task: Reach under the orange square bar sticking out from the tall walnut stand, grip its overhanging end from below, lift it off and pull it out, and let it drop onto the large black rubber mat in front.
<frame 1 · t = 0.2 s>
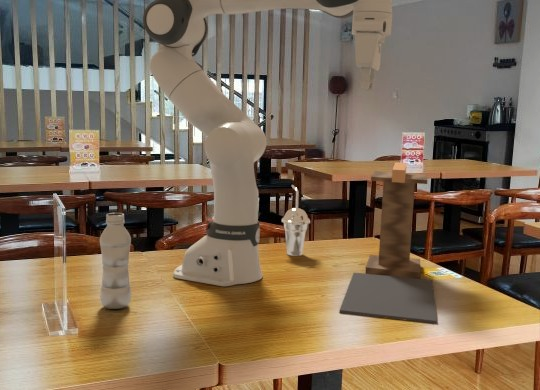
hand: (366, 89, 135), 48 cm above the table, fingers open, 8 cm apart
orange square bar: (399, 177, 151), point 26 cm above the table, touching walnut stand
cup with straw: (294, 254, 174), on the table
rubber mat: (389, 296, 138), on the table
walnut stand: (393, 270, 160), on the table
plastic bottle: (116, 308, 125), on the table
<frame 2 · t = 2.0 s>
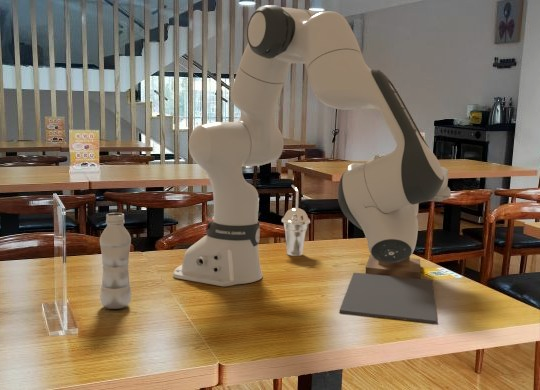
hand: (398, 158, 125), 33 cm above the table, fingers open, 8 cm apart
nothing on the table moved.
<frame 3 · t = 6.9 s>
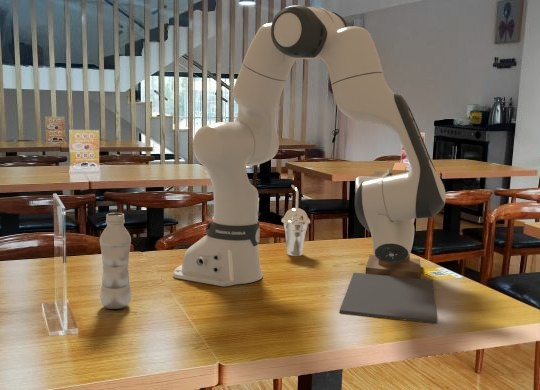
hand: (399, 172, 146), 28 cm above the table, fingers closed on orange square bar, 3 cm apart
orange square bar: (399, 177, 151), point 26 cm above the table, touching gripper, walnut stand
everything else where it was.
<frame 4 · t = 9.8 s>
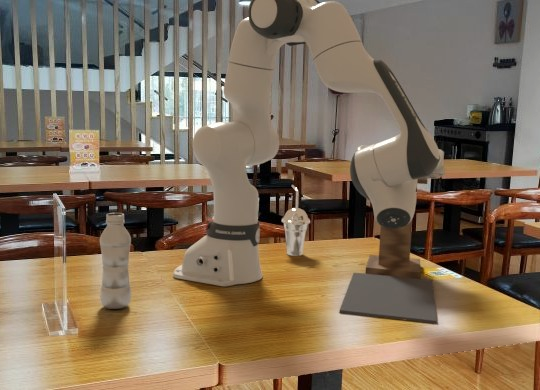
hand: (401, 142, 145), 35 cm above the table, fingers closed on orange square bar, 3 cm apart
orange square bar: (401, 148, 149), point 33 cm above the table, touching gripper
everything else where it was.
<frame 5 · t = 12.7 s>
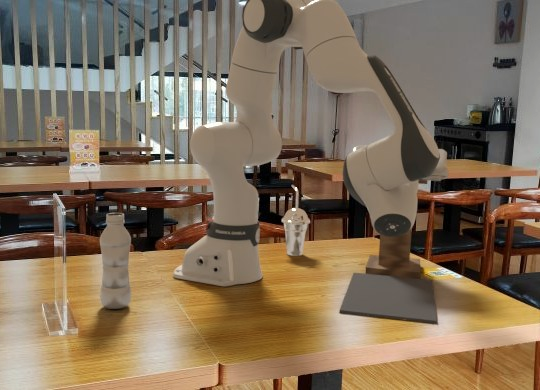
hand: (400, 141, 134), 36 cm above the table, fingers closed on orange square bar, 3 cm apart
orange square bar: (400, 149, 139), point 34 cm above the table, touching gripper
everything else where it was.
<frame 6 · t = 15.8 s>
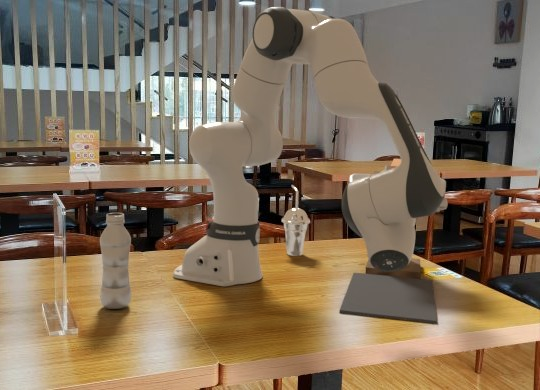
hand: (398, 168, 130), 30 cm above the table, fingers closed on orange square bar, 3 cm apart
orange square bar: (398, 175, 135), point 28 cm above the table, touching gripper
everything else where it was.
when the fingers open (20 cm above the table, at t = 18.3 s): orange square bar drops 17 cm, resting on rubber mat.
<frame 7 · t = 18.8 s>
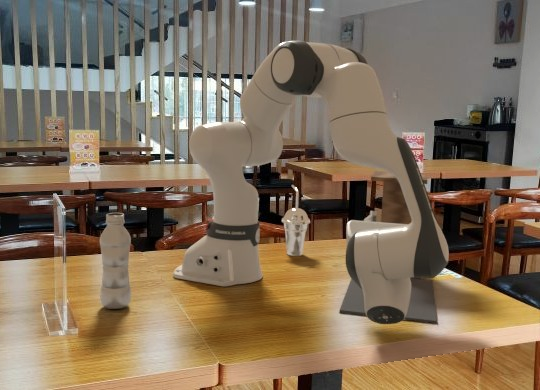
hand: (395, 214, 132), 20 cm above the table, fingers open, 8 cm apart
orange square bar: (390, 292, 139), point 1 cm above the table, touching rubber mat
everything else where it was.
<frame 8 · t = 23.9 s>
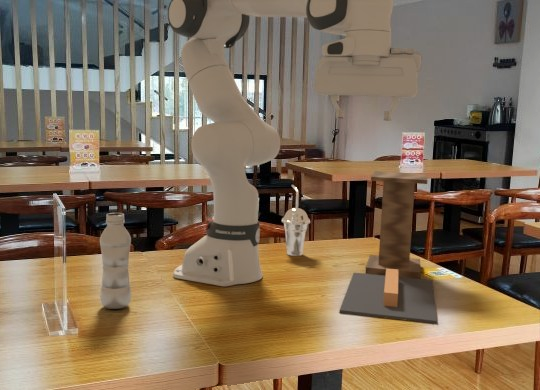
hand: (363, 119, 117), 41 cm above the table, fingers open, 8 cm apart
nothing on the table moved.
at the end: orange square bar inside the target area (2.6 cm from its centre), point 0.6 cm above the table; the gripper is holding nothing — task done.
